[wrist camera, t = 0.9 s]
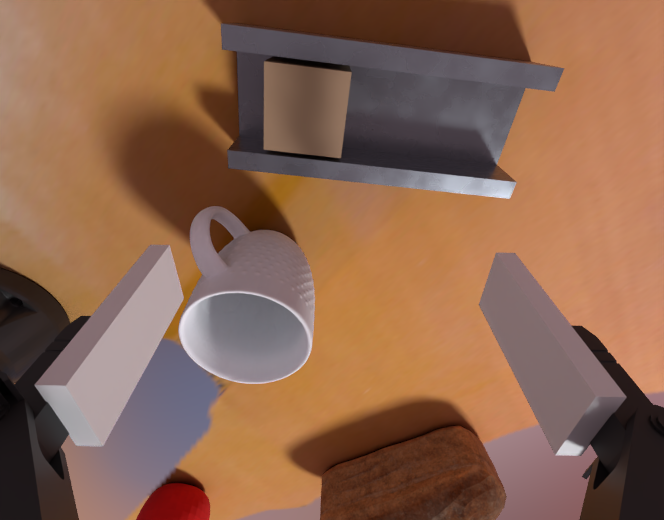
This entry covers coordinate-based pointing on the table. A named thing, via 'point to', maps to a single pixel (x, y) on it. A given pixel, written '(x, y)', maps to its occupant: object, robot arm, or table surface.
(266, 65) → the block
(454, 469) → the bread
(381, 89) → the chute
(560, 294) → the table surface
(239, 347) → the mug
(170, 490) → the tomato
